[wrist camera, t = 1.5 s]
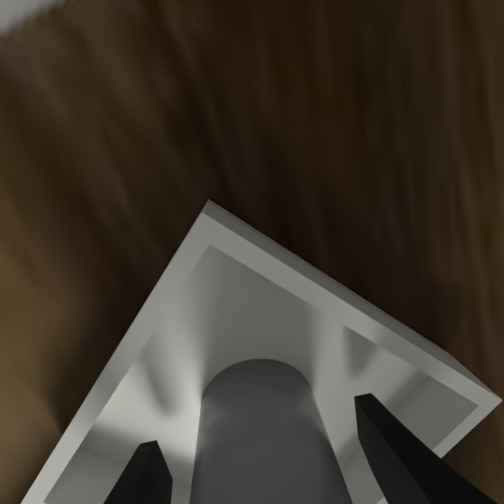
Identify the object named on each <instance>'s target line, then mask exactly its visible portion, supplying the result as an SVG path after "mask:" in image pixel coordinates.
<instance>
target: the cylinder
mask: <svg viewBox="0 0 504 504" xmlns="http://www.w3.org/2000/svg"><path fill="white" fill-rule="evenodd" d="M189 504H353V503H352V500H351V497H350V494H349V492H348V489H347V486H346V483H345V481H344V478H343V475H342V472H341V470H340V467H339V464H338V461H337V458H336V456H335V453H334V450H333V447H332V445H331V442H330V439H329V436H328V434H327V431H326V428H325V425H324V423H323V420H322V417H321V414H320V412H319V409H318V406H317V403H316V400H315V398H314V395H313V392H312V389H311V387H310V385H309V382H308V381H307V379H306V378H305V377H304V376H303V374H302V373H301V372H299V371H298V370H297V369H296V368H294V367H292V366H291V365H289V364H286V363H284V362H281V361H278V360H273V359H250V360H245V361H241V362H238V363H236V364H233V365H231V366H229V367H227V368H225V369H224V370H222V371H221V372H220V373H218V374H217V375H216V376H215V377H214V378H213V379H212V380H211V381H210V383H209V384H208V386H207V387H206V389H205V391H204V393H203V396H202V400H201V408H200V417H199V425H198V434H197V443H196V451H195V460H194V468H193V477H192V485H191V494H190V503H189Z"/></svg>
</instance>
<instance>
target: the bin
mask: <svg viewBox="0 0 504 504" xmlns="http://www.w3.org/2000/svg"><path fill="white" fill-rule="evenodd" d="M250 359H273V360H278V361H281V362H284V363H286V364H289V365H291V366H292V367H294V368H296V369H297V370H298V371H299V372H301V373H302V374H303V376H304V377H305V378H306V379H307V381H308V382H309V385H310V387H311V389H312V392H313V395H314V398H315V400H316V403H317V406H318V409H319V412H320V414H321V417H322V420H323V423H324V425H325V428H326V431H327V434H328V436H329V439H330V442H331V445H332V447H333V450H334V453H335V456H336V458H337V461H338V464H339V467H340V470H341V472H342V475H343V478H344V481H345V483H346V486H347V489H348V492H349V494H350V497H351V500H352V503H353V504H388V502H387V501H386V499H385V497H384V495H383V493H382V491H381V489H380V487H379V485H378V483H377V481H376V479H375V477H374V475H373V473H372V471H371V468H370V466H369V464H368V461H367V459H366V456H365V454H364V451H363V449H362V446H361V444H360V441H359V439H358V431H357V421H356V412H355V402H354V396H358V395H363V394H368V393H371V394H373V395H374V396H375V397H376V398H377V399H378V400H379V401H380V402H381V403H382V404H383V405H384V406H385V407H386V408H387V409H388V410H389V411H390V412H391V413H392V414H393V415H394V416H395V417H396V418H397V419H398V420H399V421H400V422H401V423H402V424H403V425H404V426H405V427H406V428H408V429H409V430H410V431H411V432H412V433H413V434H414V435H415V436H416V437H417V438H418V439H420V440H421V441H422V442H423V443H424V444H425V445H426V446H427V447H429V448H430V449H431V450H432V451H433V452H434V453H435V454H437V455H438V456H439V457H440V458H442V457H443V456H444V455H445V454H446V453H447V452H448V451H449V450H450V449H452V448H453V447H454V446H455V445H456V444H457V443H458V442H459V441H460V440H461V439H462V438H463V437H464V436H465V435H466V434H468V433H469V432H470V431H471V430H472V429H473V428H474V427H475V426H476V425H477V424H478V423H479V422H480V421H481V420H482V419H484V418H485V417H486V416H487V415H488V414H489V413H490V412H491V411H492V410H493V409H494V408H495V407H496V406H497V405H498V404H499V403H501V402H502V401H503V400H502V399H501V398H500V397H498V396H497V395H496V394H495V393H494V392H493V391H491V390H490V389H489V388H488V387H487V386H486V385H485V384H483V383H482V382H481V381H480V380H479V379H478V378H477V377H475V376H474V375H473V374H472V373H471V372H470V371H469V370H467V369H466V368H465V367H464V366H463V365H462V364H460V363H459V362H458V361H457V360H456V359H455V358H454V357H452V356H451V355H450V354H449V353H448V352H446V351H445V350H443V349H442V348H440V347H438V346H437V345H435V344H434V343H432V342H431V341H429V340H428V339H426V338H424V337H423V336H421V335H420V334H418V333H417V332H415V331H414V330H412V329H410V328H409V327H407V326H406V325H404V324H403V323H401V322H400V321H398V320H396V319H395V318H393V317H392V316H390V315H389V314H387V313H386V312H384V311H382V310H381V309H379V308H378V307H376V306H375V305H373V304H371V303H370V302H368V301H367V300H365V299H364V298H362V297H361V296H359V295H357V294H356V293H354V292H353V291H351V290H350V289H348V288H347V287H345V286H343V285H342V284H340V283H339V282H337V281H336V280H334V279H333V278H331V277H329V276H328V275H326V274H325V273H323V272H322V271H320V270H319V269H317V268H315V267H314V266H312V265H311V264H309V263H308V262H306V261H304V260H303V259H301V258H300V257H298V256H297V255H295V254H294V253H292V252H290V251H289V250H287V249H286V248H284V247H283V246H281V245H280V244H278V243H276V242H275V241H273V240H272V239H270V238H269V237H267V236H266V235H264V234H262V233H261V232H259V231H258V230H256V229H255V228H253V227H252V226H250V225H248V224H247V223H245V222H244V221H242V220H241V219H239V218H237V217H236V216H234V215H233V214H231V213H230V212H228V211H227V210H225V209H223V208H222V207H220V206H219V205H217V204H216V203H214V202H213V201H211V200H209V199H208V201H207V203H206V204H205V206H204V208H203V209H202V211H201V212H200V214H199V216H198V217H197V219H196V220H195V222H194V224H193V225H192V227H191V229H190V230H189V232H188V233H187V235H186V237H185V238H184V240H183V241H182V243H181V245H180V246H179V248H178V250H177V251H176V253H175V254H174V256H173V258H172V259H171V261H170V262H169V264H168V266H167V267H166V269H165V271H164V272H163V274H162V275H161V277H160V279H159V280H158V282H157V283H156V285H155V287H154V288H153V290H152V292H151V293H150V295H149V296H148V298H147V300H146V301H145V303H144V304H143V306H142V308H141V309H140V311H139V313H138V314H137V316H136V317H135V319H134V321H133V322H132V324H131V325H130V327H129V329H128V330H127V332H126V334H125V335H124V337H123V338H122V340H121V342H120V343H119V345H118V346H117V348H116V350H115V351H114V353H113V354H112V356H111V358H110V359H109V361H108V363H107V364H106V366H105V367H104V369H103V371H102V372H101V374H100V375H99V377H98V379H97V380H96V382H95V384H94V385H93V387H92V388H91V390H90V392H89V393H88V395H87V396H86V398H85V400H84V401H83V403H82V405H81V406H80V408H79V409H78V411H77V413H76V414H75V416H74V417H73V419H72V421H71V422H70V424H69V426H68V427H67V429H66V430H65V432H64V434H63V435H62V437H61V438H60V440H59V442H58V443H57V445H56V447H55V448H54V450H53V452H52V453H51V455H50V456H49V458H48V460H47V461H46V463H45V465H44V466H43V468H42V470H41V471H40V473H39V475H38V476H37V478H36V479H35V481H34V483H33V484H32V486H31V488H30V489H29V491H28V493H27V494H26V496H25V497H24V499H23V501H22V502H21V504H103V503H104V501H105V500H106V498H107V497H108V495H109V494H110V492H111V490H112V489H113V487H114V485H115V484H116V482H117V480H118V479H119V477H120V475H121V474H122V472H123V470H124V469H125V467H126V465H127V464H128V462H129V460H130V459H131V457H132V455H133V454H134V452H135V450H136V449H137V447H138V446H139V444H141V443H145V442H150V441H154V440H157V442H158V444H159V447H160V449H161V452H162V454H163V456H164V459H165V461H166V464H167V466H168V468H169V471H170V473H171V476H172V478H173V485H172V497H171V504H189V503H190V494H191V485H192V477H193V468H194V460H195V451H196V443H197V434H198V425H199V417H200V408H201V400H202V396H203V393H204V391H205V389H206V387H207V386H208V384H209V383H210V381H211V380H212V379H213V378H214V377H215V376H216V375H217V374H218V373H220V372H221V371H222V370H224V369H225V368H227V367H229V366H231V365H233V364H236V363H238V362H241V361H245V360H250Z"/></svg>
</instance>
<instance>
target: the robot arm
mask: <svg viewBox="0 0 504 504" xmlns="http://www.w3.org/2000/svg"><path fill="white" fill-rule="evenodd" d="M354 402H355V412H356V421H357V431H358V439H359V441H360V444H361V446H362V449H363V451H364V454H365V456H366V459H367V461H368V464H369V466H370V468H371V471H372V473H373V475H374V477H375V479H376V481H377V483H378V485H379V487H380V489H381V491H382V493H383V495H384V497H385V499H386V501H387V502H388V504H498V503H496V502H495V501H494V500H492V499H491V498H490V497H488V496H487V495H486V494H484V493H483V492H482V491H481V490H479V489H478V488H477V487H475V486H474V485H473V484H472V483H470V482H469V481H468V480H467V479H465V478H464V477H463V476H462V475H460V474H459V473H458V472H457V471H456V470H454V469H453V468H452V467H451V466H449V465H448V464H447V463H446V462H445V461H443V460H442V459H441V458H440V457H439V456H438V455H437V454H435V453H434V452H433V451H432V450H431V449H430V448H429V447H427V446H426V445H425V444H424V443H423V442H422V441H421V440H420V439H418V438H417V437H416V436H415V435H414V434H413V433H412V432H411V431H410V430H409V429H408V428H406V427H405V426H404V425H403V424H402V423H401V422H400V421H399V420H398V419H397V418H396V417H395V416H394V415H393V414H392V413H391V412H390V411H389V410H388V409H387V408H386V407H385V406H384V405H383V404H382V403H381V402H380V401H379V400H378V399H377V398H376V397H375V396H374V395H373V394H371V393H368V394H363V395H358V396H354ZM172 485H173V478H172V476H171V473H170V471H169V468H168V466H167V464H166V461H165V459H164V456H163V454H162V452H161V449H160V447H159V444H158V442H157V440H154V441H150V442H145V443H141V444H139V446H138V447H137V449H136V450H135V452H134V454H133V455H132V457H131V459H130V460H129V462H128V464H127V465H126V467H125V469H124V470H123V472H122V474H121V475H120V477H119V479H118V480H117V482H116V484H115V485H114V487H113V489H112V490H111V492H110V494H109V495H108V497H107V498H106V500H105V501H104V503H103V504H171V497H172Z"/></svg>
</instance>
